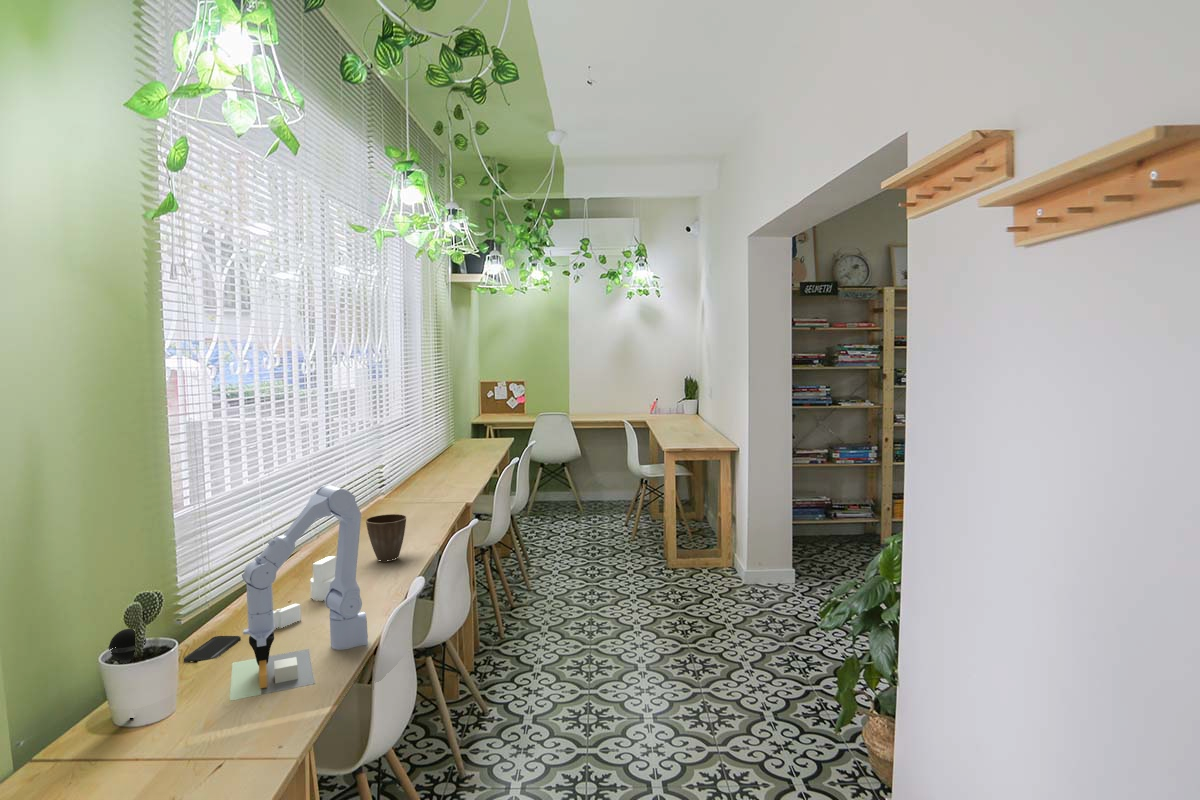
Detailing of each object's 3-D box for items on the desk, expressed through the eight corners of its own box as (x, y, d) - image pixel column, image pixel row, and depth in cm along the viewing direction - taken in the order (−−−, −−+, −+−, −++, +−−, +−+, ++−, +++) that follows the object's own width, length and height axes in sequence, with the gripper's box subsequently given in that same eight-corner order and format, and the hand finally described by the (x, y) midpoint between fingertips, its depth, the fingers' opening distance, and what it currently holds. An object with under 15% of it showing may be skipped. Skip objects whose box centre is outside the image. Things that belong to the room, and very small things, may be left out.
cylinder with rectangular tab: (321, 590, 236) (320, 555, 235) (346, 592, 234) (344, 556, 233) (305, 599, 227) (303, 563, 226) (330, 601, 225) (329, 564, 224)
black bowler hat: (144, 724, 151) (139, 633, 150) (107, 729, 149) (102, 637, 148) (154, 708, 158) (150, 621, 156) (119, 713, 156) (114, 625, 154)
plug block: (296, 670, 174) (296, 656, 174) (298, 678, 169) (297, 664, 169) (274, 674, 172) (274, 660, 171) (275, 683, 167) (274, 669, 167)
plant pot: (360, 564, 264) (358, 522, 263) (377, 553, 279) (376, 513, 278) (398, 565, 263) (397, 523, 262) (413, 554, 277) (412, 514, 276)
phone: (242, 636, 196) (211, 659, 181) (242, 639, 196) (211, 663, 182) (214, 635, 197) (181, 659, 182) (214, 639, 197) (181, 663, 182)
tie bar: (266, 671, 173) (266, 659, 172) (267, 687, 165) (266, 674, 164) (259, 673, 172) (259, 661, 172) (259, 688, 164) (259, 676, 164)
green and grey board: (308, 652, 187) (308, 648, 187) (315, 687, 167) (315, 683, 167) (232, 666, 179) (232, 662, 179) (229, 705, 159) (229, 700, 159)
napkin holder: (305, 617, 213) (304, 598, 213) (306, 630, 203) (305, 611, 203) (250, 625, 207) (249, 606, 207) (248, 639, 197) (247, 619, 197)
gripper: (242, 603, 178) (245, 656, 179) (241, 623, 165) (244, 679, 166) (273, 599, 181) (275, 650, 182) (274, 618, 168) (277, 673, 169)
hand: (262, 664), depth 174 cm, fingers closed
